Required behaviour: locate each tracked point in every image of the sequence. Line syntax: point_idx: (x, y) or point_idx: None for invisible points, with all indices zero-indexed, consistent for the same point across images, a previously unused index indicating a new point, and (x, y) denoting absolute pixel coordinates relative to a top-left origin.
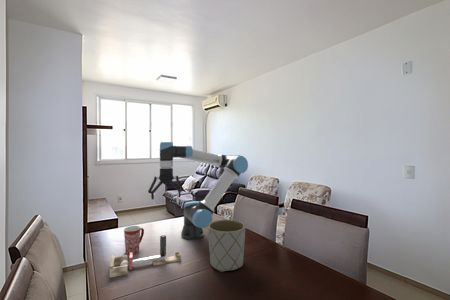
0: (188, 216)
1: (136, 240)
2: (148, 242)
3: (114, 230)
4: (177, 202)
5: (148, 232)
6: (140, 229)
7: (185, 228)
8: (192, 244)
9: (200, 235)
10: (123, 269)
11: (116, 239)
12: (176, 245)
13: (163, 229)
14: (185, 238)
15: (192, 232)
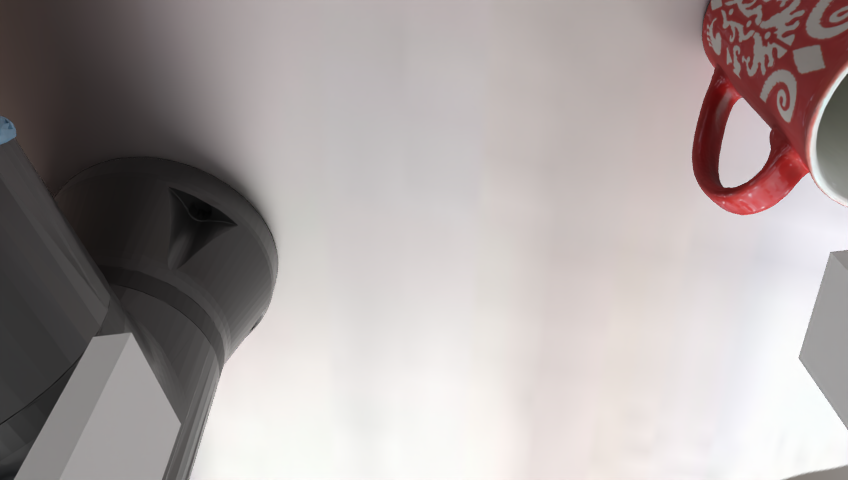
0: (88, 299)
1: None
2: (588, 192)
3: (807, 456)
4: (127, 358)
5: (565, 383)
6: (773, 162)
7: (209, 271)
8: (140, 38)
9: (60, 192)
10: None
11: None
12: (318, 56)
13: (439, 414)
14: (229, 189)
15: (131, 206)
